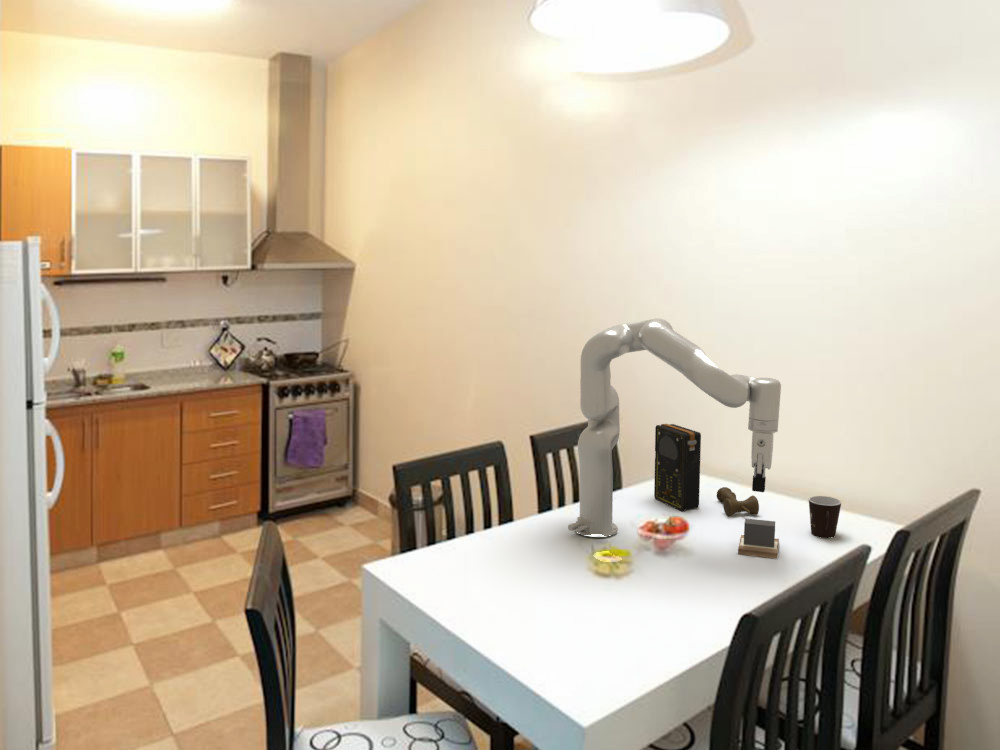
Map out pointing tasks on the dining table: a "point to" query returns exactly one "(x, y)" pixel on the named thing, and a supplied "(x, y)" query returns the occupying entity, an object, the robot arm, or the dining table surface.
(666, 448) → the voltmeter
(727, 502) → the kendama
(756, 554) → the pin board
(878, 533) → the dining table surface
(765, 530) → the plug housing
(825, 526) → the coffee mug
